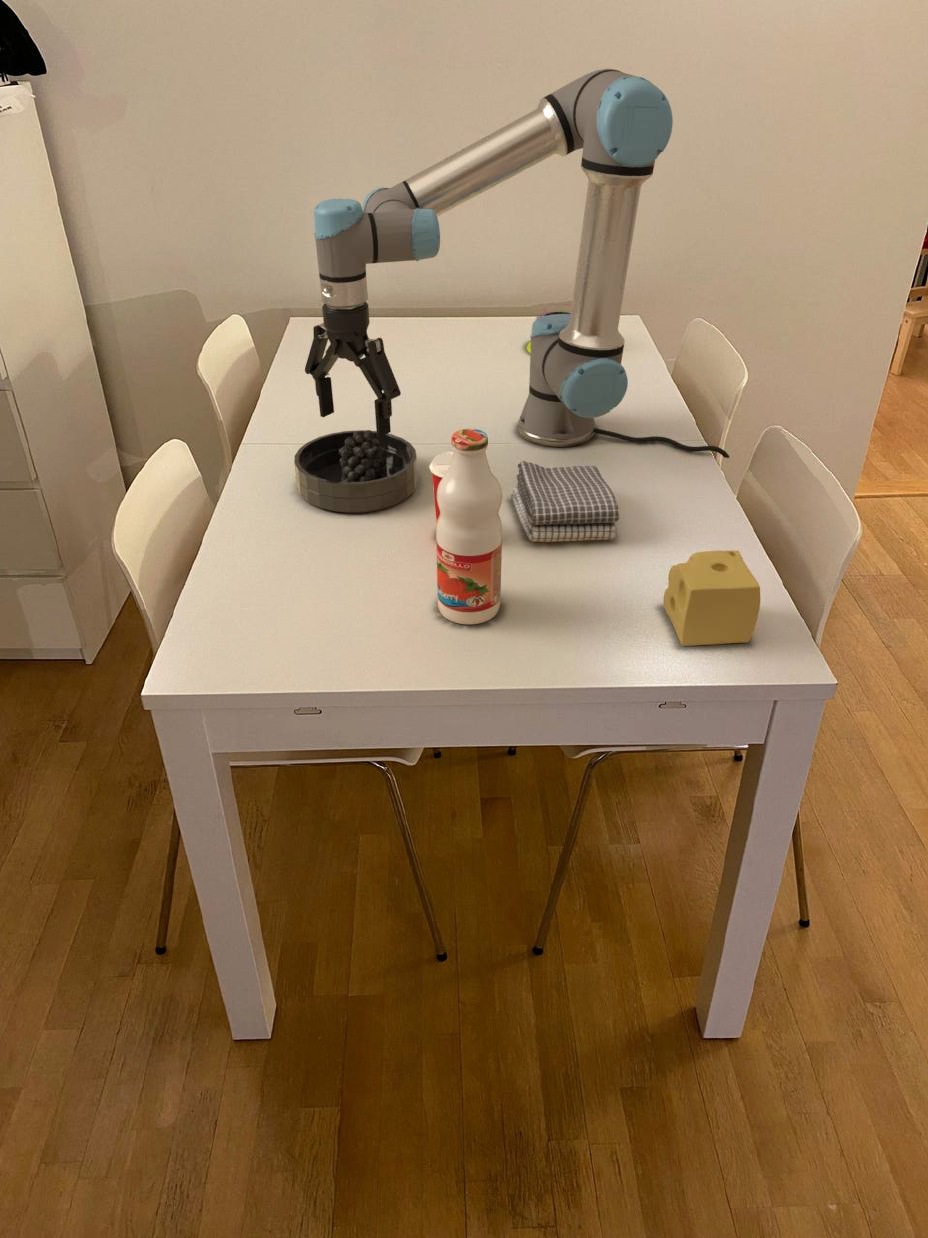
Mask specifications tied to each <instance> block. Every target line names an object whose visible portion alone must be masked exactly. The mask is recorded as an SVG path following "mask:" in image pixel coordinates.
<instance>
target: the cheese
mask: <svg viewBox="0 0 928 1238" xmlns="http://www.w3.org/2000/svg"><path fill="white" fill-rule="evenodd" d="M667 580H668V587H667V588H666V589H665V590H664V593H663V597H662V598H663V609H664V612H665V613H666V614H667V616H668V618H669V620H670V622H671V624H672V626H673V629H674V631H675V633H676V636H677V638H678V641H679V643H680V646H681V647H691V646H707V645H725V644H738V643H739V644H741V643H749V642H750V640H751V638H752V635H753V633H754V631H755V628H756V625H757V621H758V617H759V612H760V607H761V586H760V584H759V582H758V581H757V579H756V577H755V576H754V575H753V573H752V571H751V570H750V569H749V567H748V566H747V564H746V562H745V560H744V558H743V557H742V554H741V553H740V551H739V550H708V551H707V550H706V551H698V552H694V553H692V554H691V555H690V556H689V557H688V560H687V561H686V562H681V563H677V564H675V565H672V566H671V567H670V568H669V571H668V578H667Z"/></svg>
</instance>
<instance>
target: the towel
mask: <svg viewBox="0 0 928 1238" xmlns="http://www.w3.org/2000/svg"><path fill="white" fill-rule="evenodd" d="M517 468H518V474H517V475H516V479H517V484H516V485H517V486H515V487H513V488H512V492H511V494H510V498H511V502H512V503H513V506H514V508H515V511H516V514H517V517H518V520H519V521H520V524H521V527H522V528H523V530H524V532H525V535H526V537H527V539H528V540H529V542H531V543H533V542H534V543H535V542H537V543H550V542H551V543H555V542H557V543H558V542H559V543H560V542H581V541H583V542H584V541H585V542H586V541H606V540H615V539H616V538H617V535H616V532H617V527H618V526H617V524H616V523H617V522H618V521H619V520H620V513H619V506H618V503H617V500H616V496H615V494H614V492H613V490H612V489H611V487H610V486H609V485H608V483H607V482H606V481H605V479H604V478H603V477H602V474H601V473H600V471H599V470H598V467H597V466H596V465H584V466H582V465H577V466H576V465H573V466H559V467H551V468H550V467H544V466H542V465H541V466H540V465H538V464H537V463H533V462H530V461H529V462H528V461H525V460H521V461H520V462H519V463H518V464H517Z"/></svg>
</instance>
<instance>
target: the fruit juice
mask: <svg viewBox="0 0 928 1238" xmlns="http://www.w3.org/2000/svg"><path fill="white" fill-rule="evenodd" d="M450 442H451V443H450V444H451V449H452V451H454V453H453V456H452V459H451V462H450V465H449V468H448V470H447V472H446V474H445V475H444V477H443V478H442V480H441V481H440V483H439V485H438V488H437V503H438V506H439V509H440V516H439V518H438V521H437V523H436V530H435V531H436V532H435V540H436V541H435V542H436V543H435V544H436V593H437V594H436V595H437V597H436V599H437V600H436V601H437V607H438V610H439V613H440V614H441V615H442V616H443V617H444V618H445V619H447V620H449V621H451V622H453V623H456V624H461V625H478V624H483V623H486V622H488V621H490V620H491V619H493V618H494V617H496V616H497V614H498V612H499V610H500V607H501V593H502V592H501V591H502V559H503V556H502V553H503V524H502V523H503V522H502V519H501V516H500V514H499V512H500V508H501V506H502V502H503V488H502V486H501V483H500V482H499V479H498V478H497V477H496V476H495V474H494V473H493V472H492V469H491V466H490V464H489V460H488V457H487V452H486V451H487V449H488V447H489V437H488V434H487V432H485V431H483V430H480V429H476V428H463V429H459V430H456V431H454V432H453V433H452V435H451V441H450Z"/></svg>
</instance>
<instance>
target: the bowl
mask: <svg viewBox="0 0 928 1238" xmlns="http://www.w3.org/2000/svg"><path fill="white" fill-rule="evenodd" d="M357 431H364V432H365V431H366V429H364V430H362V429H361V430H358V429H357V430H344V431H339V432H332V433H329V434H324V435H322V436H318V437H317V438H314V439H312V440H309V441H308V442H306V443H305V444H304V445H302V446H301V447H299V448H298V450H297V452H296V453H295V455H294V473H295V480H296V482H295V483H296V489H297V492H298V493H299V495H300V497H301V498H302V499H303V500H305V501H306V502H307V503H309V504H311V505H313V506H315V507H317V508H319V509H323V510H327V511H331V512H335V513H336V512H337V513H344V514H345V513H347V514H359V513H369V512H376V511H380V510H384V509H387V508H390V507H393V506H394V505H395V506H396V505H398V504H399V503H400V502H403V501H404V500H406V499H408V498H409V497H410V496H411V495H412V494H413V493H414V492H415V491H416V489H417V485H418V458H417V450H416V448H415V447H414V446H413V445H412V443H411V442H409V441H407V439H404V438H402V437H400V436H397V435H396V434H395V435H394V434H392V433H388V434H386V435H384V436H382V437H378V436H377V431H376V430H371V431H372V432H373V435H374V436H373V438H376V439H378V440H379V442H380V445H379V447H382V448H384V450H385V454H384V456H382V457H384V458H385V459H386V461H387V462H386V465H385V466H384V467H381V471H380V474H379V475H378V476H376V478H375V480H371V481H366V482H342V476H343V475H342V467H341V464H340V459H341V458H342V456H340V455H339V450H340V449H341V448H343V447H344V446H345V440H346V439H347V438H348V437H352V438H353V434H354V433H355V432H357ZM358 446H359V447H362V444H361V445H358Z"/></svg>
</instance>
